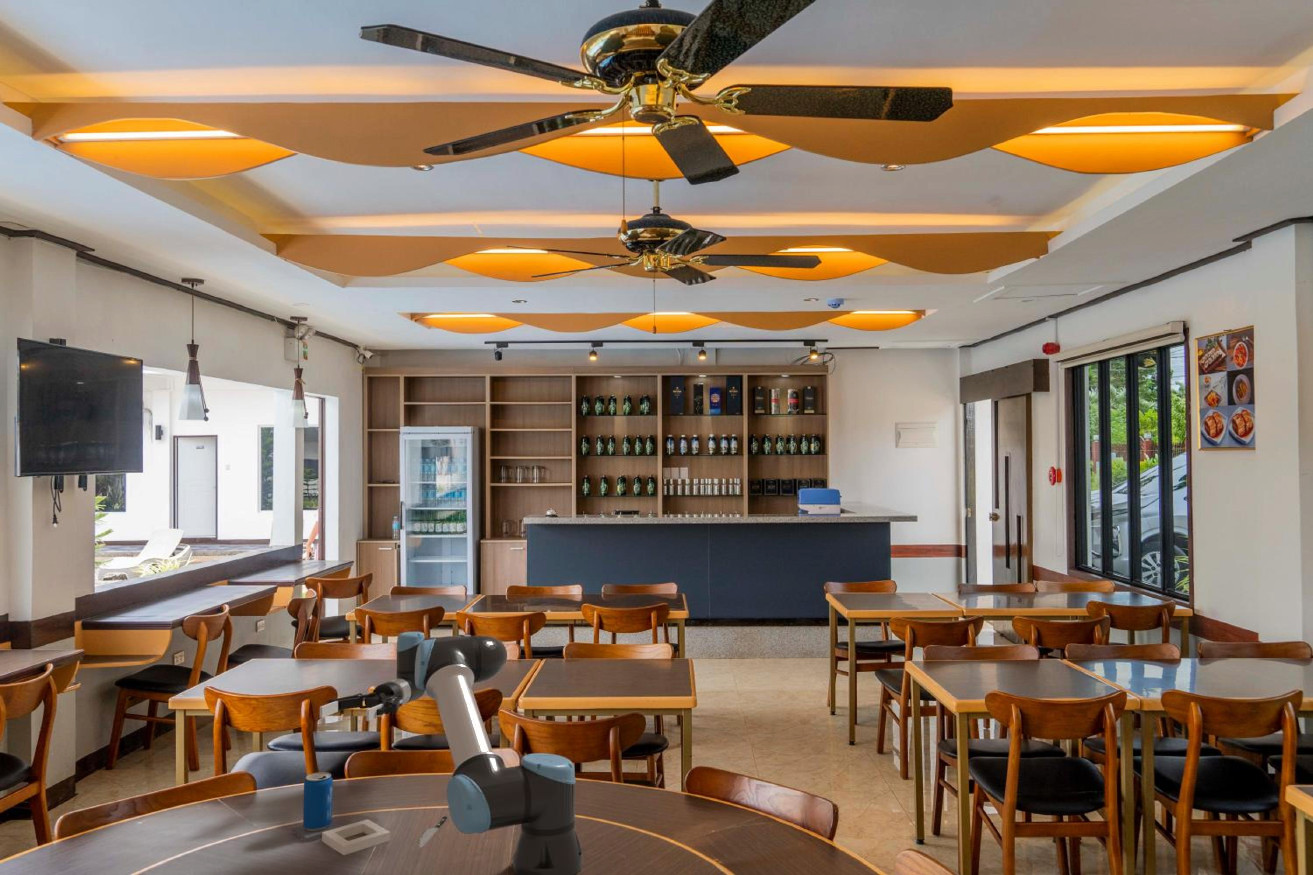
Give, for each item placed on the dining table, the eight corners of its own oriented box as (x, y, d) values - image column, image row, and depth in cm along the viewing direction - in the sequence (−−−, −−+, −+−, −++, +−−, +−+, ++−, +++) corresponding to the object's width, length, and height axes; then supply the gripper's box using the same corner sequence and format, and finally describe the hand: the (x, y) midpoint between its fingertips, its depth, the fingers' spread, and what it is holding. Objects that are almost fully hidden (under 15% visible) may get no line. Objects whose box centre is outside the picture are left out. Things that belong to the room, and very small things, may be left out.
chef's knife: (406, 852, 193) (419, 852, 193) (406, 847, 193) (419, 846, 193) (436, 819, 212) (448, 819, 212) (436, 815, 212) (448, 814, 212)
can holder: (389, 840, 198) (389, 831, 199) (343, 855, 190) (343, 846, 191) (367, 827, 206) (367, 818, 206) (322, 840, 198) (322, 832, 199)
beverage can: (321, 833, 200) (322, 781, 201) (297, 831, 202) (298, 779, 202) (337, 822, 207) (338, 772, 207) (313, 820, 208) (314, 770, 209)
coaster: (343, 831, 204) (343, 826, 204) (306, 842, 198) (306, 837, 198) (327, 821, 210) (327, 816, 210) (290, 831, 204) (290, 827, 204)
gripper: (431, 711, 232) (387, 731, 212) (351, 706, 239) (301, 725, 218) (431, 683, 233) (387, 701, 212) (351, 679, 239) (302, 696, 219)
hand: (343, 713), depth 215 cm, fingers open, 13 cm apart
